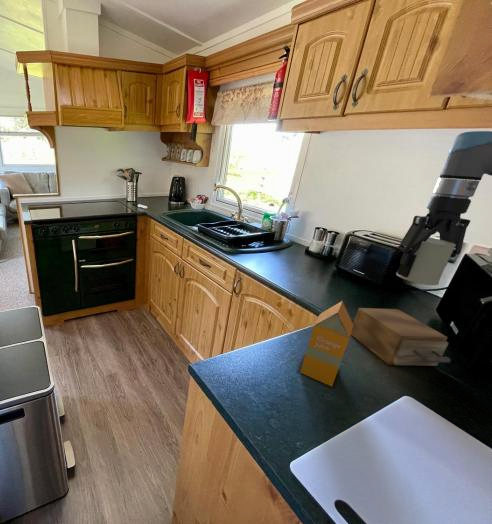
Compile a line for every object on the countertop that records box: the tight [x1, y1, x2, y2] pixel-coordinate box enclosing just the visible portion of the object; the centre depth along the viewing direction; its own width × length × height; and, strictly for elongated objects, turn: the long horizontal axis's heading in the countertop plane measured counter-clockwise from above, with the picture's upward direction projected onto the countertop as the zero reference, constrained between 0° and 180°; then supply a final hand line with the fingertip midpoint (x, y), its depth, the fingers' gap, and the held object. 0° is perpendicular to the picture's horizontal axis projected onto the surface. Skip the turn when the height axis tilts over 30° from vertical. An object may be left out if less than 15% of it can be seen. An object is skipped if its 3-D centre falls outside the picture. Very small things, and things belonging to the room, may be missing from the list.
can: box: [395, 237, 456, 286], centre depth 81 cm, size 9×9×12 cm
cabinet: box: [351, 307, 448, 366], centre depth 89 cm, size 16×14×10 cm
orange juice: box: [299, 300, 353, 388], centre depth 75 cm, size 8×9×20 cm
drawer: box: [392, 339, 451, 367], centre depth 85 cm, size 19×13×8 cm
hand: (417, 275), depth 83 cm, fingers closed on can, 9 cm apart
